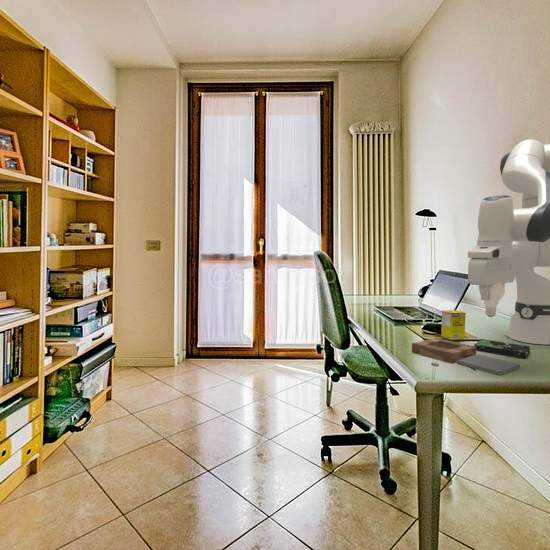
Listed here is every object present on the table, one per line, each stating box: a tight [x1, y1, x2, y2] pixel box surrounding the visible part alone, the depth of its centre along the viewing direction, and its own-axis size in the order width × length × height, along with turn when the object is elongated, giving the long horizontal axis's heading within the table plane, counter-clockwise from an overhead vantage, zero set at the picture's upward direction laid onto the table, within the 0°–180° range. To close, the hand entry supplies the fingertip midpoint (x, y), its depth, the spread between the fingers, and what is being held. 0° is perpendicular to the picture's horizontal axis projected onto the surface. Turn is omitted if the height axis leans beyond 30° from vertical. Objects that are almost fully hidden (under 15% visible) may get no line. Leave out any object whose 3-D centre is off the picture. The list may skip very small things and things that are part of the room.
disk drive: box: [473, 338, 531, 360], centre depth 122 cm, size 10×3×15 cm
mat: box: [456, 353, 521, 376], centre depth 107 cm, size 12×12×1 cm
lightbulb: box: [478, 282, 506, 318], centre depth 106 cm, size 6×6×11 cm
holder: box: [411, 337, 477, 364], centre depth 119 cm, size 14×14×3 cm
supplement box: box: [440, 309, 467, 342], centre depth 138 cm, size 6×6×11 cm
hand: (491, 299), depth 106 cm, fingers closed on lightbulb, 6 cm apart
